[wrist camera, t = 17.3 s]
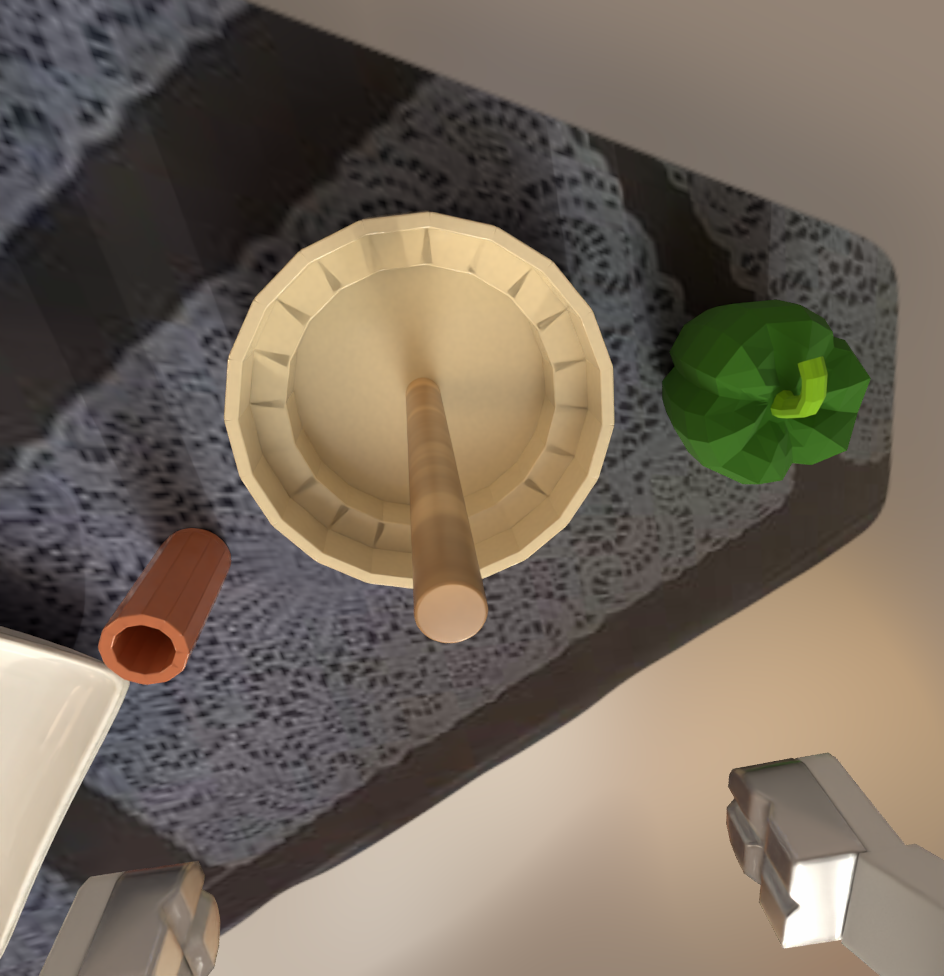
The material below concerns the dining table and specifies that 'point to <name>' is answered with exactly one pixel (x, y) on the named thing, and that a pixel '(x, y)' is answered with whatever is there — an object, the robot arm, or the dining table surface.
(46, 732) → the square plate
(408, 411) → the stirring stick
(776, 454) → the bell pepper
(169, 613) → the stick holder
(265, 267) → the dining table surface
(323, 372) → the bowl
